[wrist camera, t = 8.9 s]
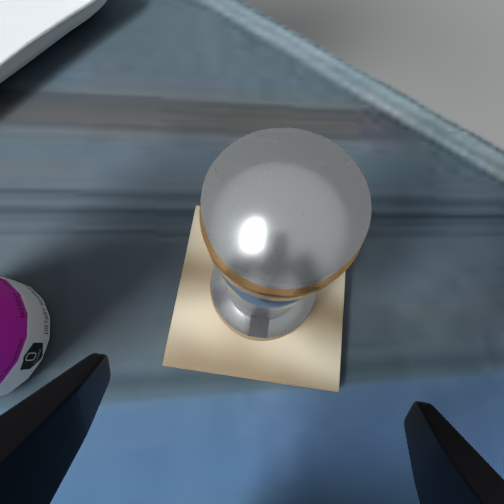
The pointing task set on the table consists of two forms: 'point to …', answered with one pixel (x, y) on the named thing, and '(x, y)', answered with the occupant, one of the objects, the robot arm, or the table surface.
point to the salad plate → (37, 28)
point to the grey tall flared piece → (280, 226)
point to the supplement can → (20, 333)
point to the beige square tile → (249, 348)
